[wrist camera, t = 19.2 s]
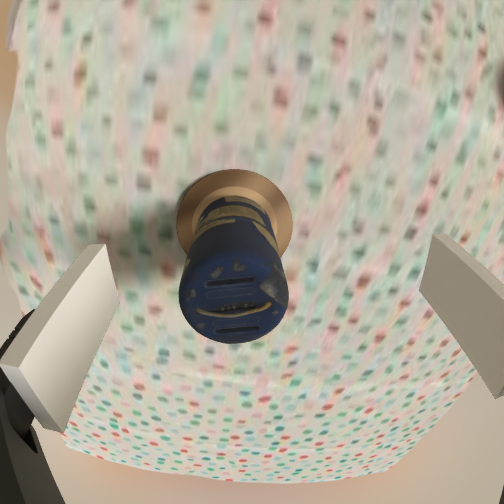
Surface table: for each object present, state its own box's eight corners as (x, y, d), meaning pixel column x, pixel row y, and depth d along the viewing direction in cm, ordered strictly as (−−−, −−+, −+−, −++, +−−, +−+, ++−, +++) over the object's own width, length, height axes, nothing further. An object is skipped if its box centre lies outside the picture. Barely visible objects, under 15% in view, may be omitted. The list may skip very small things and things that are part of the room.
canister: (201, 187, 39) (175, 254, 22) (278, 197, 40) (305, 270, 23) (194, 256, 43) (172, 350, 27) (264, 264, 44) (278, 361, 28)
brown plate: (155, 222, 41) (153, 224, 40) (239, 144, 37) (239, 145, 36) (231, 293, 47) (231, 296, 46) (313, 230, 43) (315, 232, 42)
